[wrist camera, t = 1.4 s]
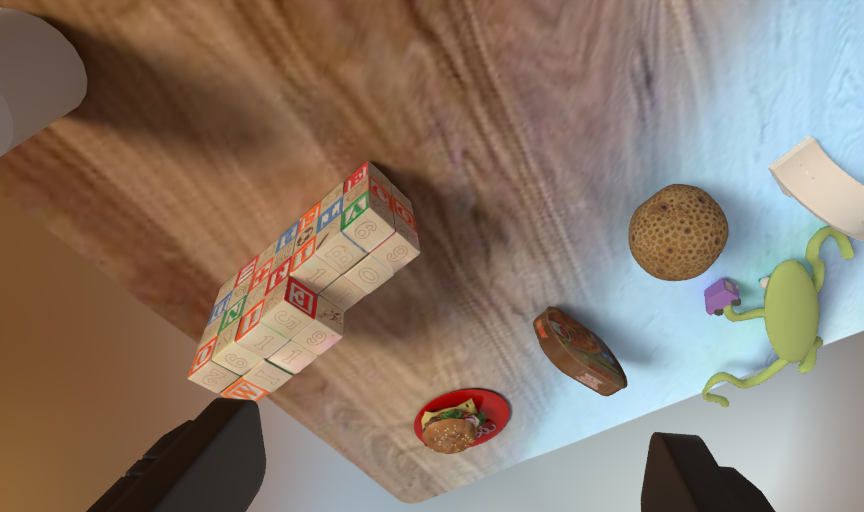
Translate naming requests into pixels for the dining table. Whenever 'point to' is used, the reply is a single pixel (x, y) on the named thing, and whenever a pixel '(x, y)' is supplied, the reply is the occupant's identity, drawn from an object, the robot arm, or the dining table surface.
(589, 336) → the tin
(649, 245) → the natural sponge
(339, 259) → the stack of blocks
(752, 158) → the dining table surface
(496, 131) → the dining table surface
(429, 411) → the hamburger
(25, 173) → the dining table surface
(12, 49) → the can
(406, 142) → the dining table surface
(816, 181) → the headphone stand
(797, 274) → the figurine
